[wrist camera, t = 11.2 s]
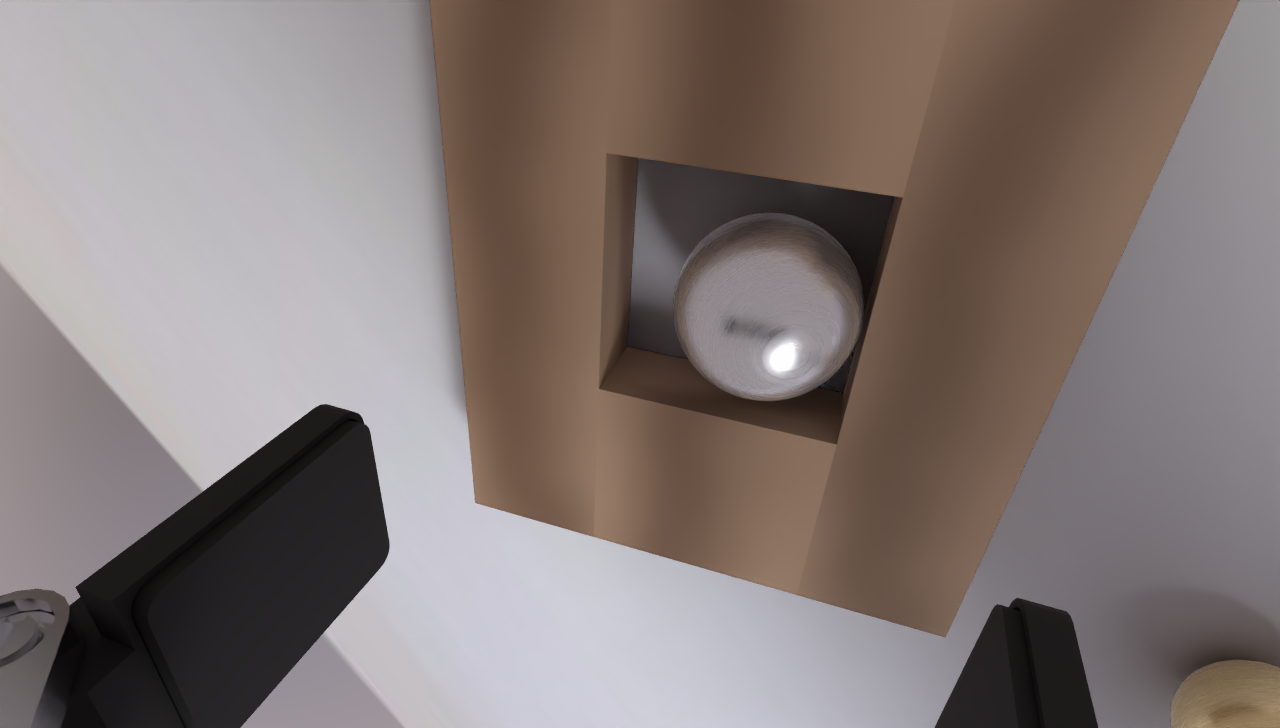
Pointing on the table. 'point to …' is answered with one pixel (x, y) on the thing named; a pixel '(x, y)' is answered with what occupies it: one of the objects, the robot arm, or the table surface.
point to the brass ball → (1229, 696)
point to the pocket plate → (901, 288)
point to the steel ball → (768, 306)
